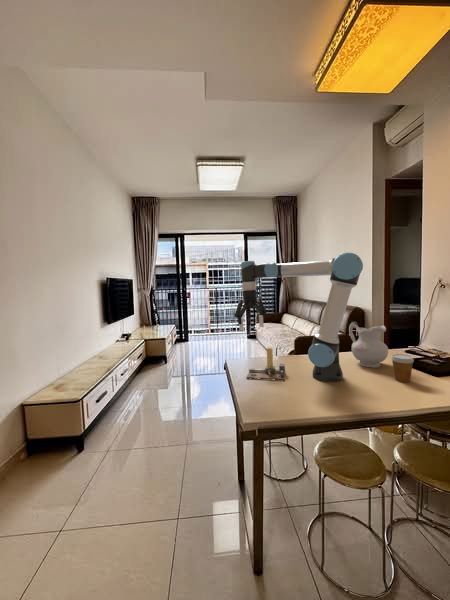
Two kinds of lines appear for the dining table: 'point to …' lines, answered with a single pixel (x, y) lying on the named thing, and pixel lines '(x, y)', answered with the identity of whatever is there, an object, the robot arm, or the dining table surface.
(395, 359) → the disposable coffee cup
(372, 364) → the ceramic pitcher
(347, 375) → the dining table surface
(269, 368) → the sliding leg
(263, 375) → the pitch board
